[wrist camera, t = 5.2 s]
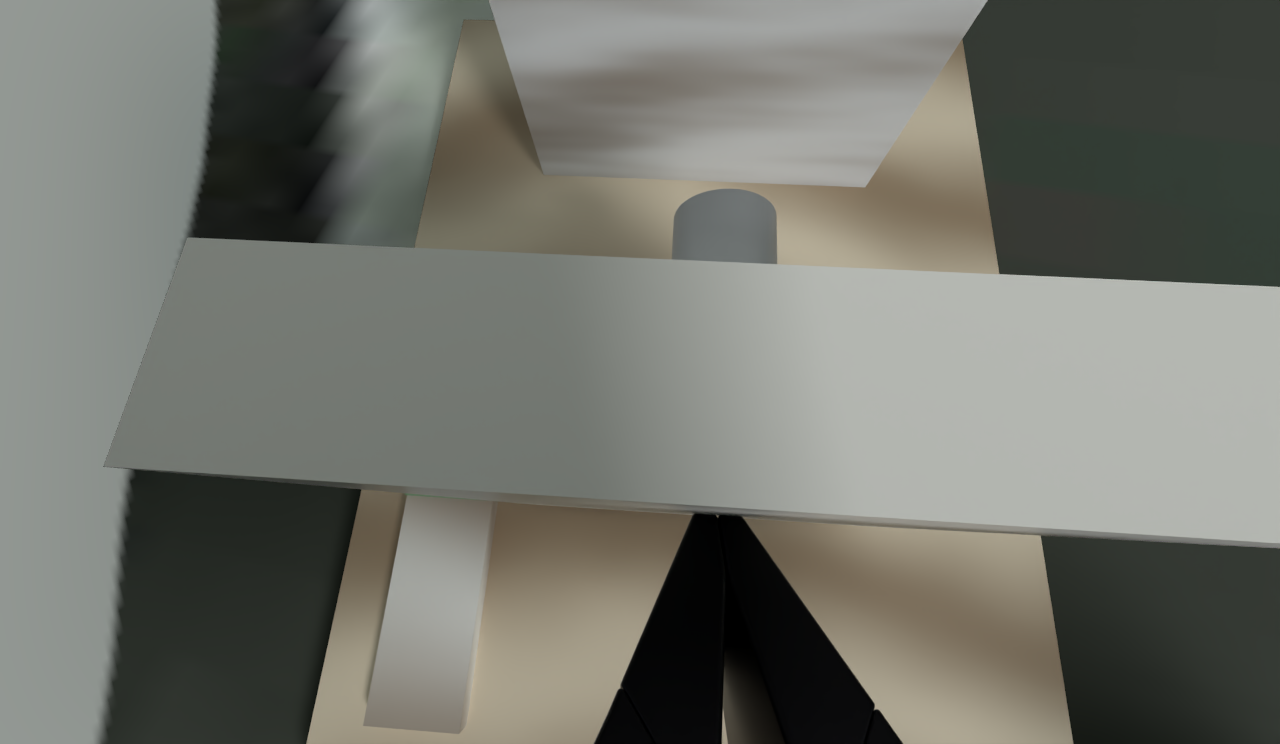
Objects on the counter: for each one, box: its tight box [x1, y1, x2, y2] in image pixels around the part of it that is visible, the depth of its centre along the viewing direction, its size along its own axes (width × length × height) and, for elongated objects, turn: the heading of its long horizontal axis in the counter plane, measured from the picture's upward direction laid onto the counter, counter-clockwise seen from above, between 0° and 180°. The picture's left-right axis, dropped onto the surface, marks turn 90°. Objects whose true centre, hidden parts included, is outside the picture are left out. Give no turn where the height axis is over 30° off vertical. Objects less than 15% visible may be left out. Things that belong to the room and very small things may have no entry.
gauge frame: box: [306, 0, 1073, 744], centre depth 11 cm, size 26×19×12 cm
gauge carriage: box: [104, 189, 1280, 548], centre depth 9 cm, size 6×13×11 cm, turn 86°
